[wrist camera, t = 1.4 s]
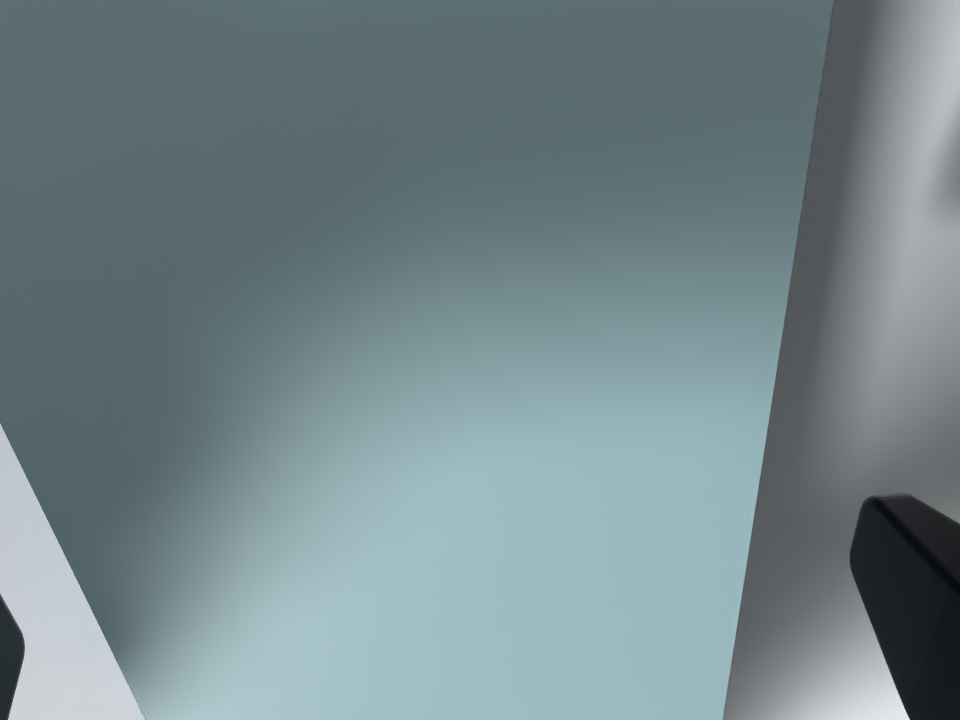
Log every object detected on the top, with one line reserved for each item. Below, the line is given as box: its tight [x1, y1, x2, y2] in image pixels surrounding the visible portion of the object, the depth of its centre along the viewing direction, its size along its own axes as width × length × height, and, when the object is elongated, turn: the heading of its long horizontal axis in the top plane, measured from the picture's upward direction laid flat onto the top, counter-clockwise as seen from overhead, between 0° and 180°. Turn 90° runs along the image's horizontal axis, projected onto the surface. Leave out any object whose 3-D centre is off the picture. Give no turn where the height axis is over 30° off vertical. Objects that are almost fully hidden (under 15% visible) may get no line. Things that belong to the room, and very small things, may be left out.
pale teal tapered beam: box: [0, 0, 834, 720], centre depth 9 cm, size 17×5×5 cm, turn 4°
